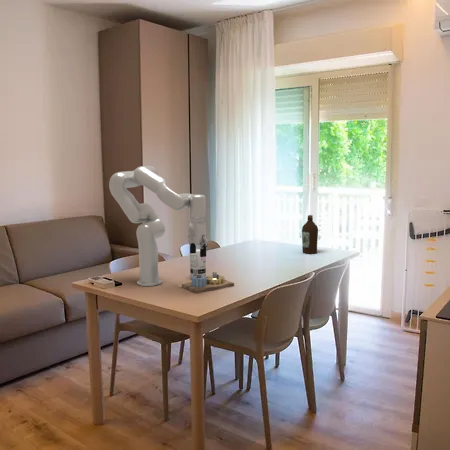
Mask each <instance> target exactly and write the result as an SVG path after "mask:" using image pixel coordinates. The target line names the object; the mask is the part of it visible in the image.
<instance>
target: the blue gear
mask: <svg viewBox="0 0 450 450" xmlns="http://www.w3.org/2000/svg"><path fill="white" fill-rule="evenodd" d="M206 276H207V275H206ZM206 276H201V278H197V276H193V277H192V278H191V282H192V286H193V287H205V286H206V285H207V281H206Z"/></svg>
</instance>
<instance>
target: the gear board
mask: <svg viewBox="0 0 450 450" xmlns="http://www.w3.org/2000/svg"><path fill="white" fill-rule="evenodd" d="M197 278H201V275H197ZM181 287H182V288H183V289H185V290H187V291H190V292H192V293H194V294H200V293H201V294H202V293H205V292H210V291H216V290H221V289H227V288H232V287H235V282H232V281H230V280H227V279H225V282H224V283H223V284H220V285H219V284H217V285H209V284H207V285H206V286H205V287H193V286H192V281H191V282H185V283H182V284H181ZM226 287H227V288H226Z"/></svg>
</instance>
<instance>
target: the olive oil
mask: <svg viewBox="0 0 450 450" xmlns="http://www.w3.org/2000/svg"><path fill="white" fill-rule="evenodd" d="M313 219H314V217H313V214H308V215H307V221H306V222H305V223H304V224H303V226H302V228H301V246H302V247H301V248H302V250H301V251H302V254H304V253H305V254H306V255H315V254H317V253H318V238H319V228H318V225H317V224H316V223H315V222H314V220H313Z"/></svg>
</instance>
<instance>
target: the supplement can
mask: <svg viewBox="0 0 450 450" xmlns="http://www.w3.org/2000/svg"><path fill="white" fill-rule="evenodd" d="M200 249H201V248H196V253H192V254H191V253H190V252H189V268H190V269H189V270H190V272H189V273H190V274H189V275H190V276H189V277H190V278H191V279H192V277H193V276H197V275H201V276H207V269H206V268H207V267H206V266H207V265H206V260H207V259H206V257H207V256H206V257H200Z"/></svg>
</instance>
